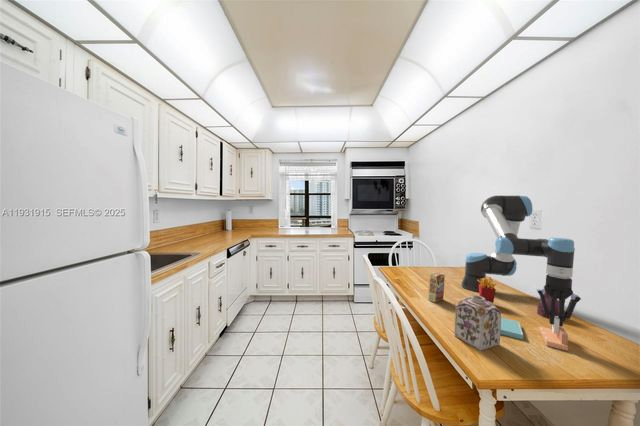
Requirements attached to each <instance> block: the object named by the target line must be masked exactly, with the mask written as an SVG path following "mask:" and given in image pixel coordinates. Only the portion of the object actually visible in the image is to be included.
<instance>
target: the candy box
mask: <svg viewBox="0 0 640 426" xmlns="http://www.w3.org/2000/svg"><path fill="white" fill-rule="evenodd" d="M429 276H430V277H429V289H428V301H430V302H433V303H437V302H440V301H443V300H444V293H445V278H446V277H445V276H446V274H445V273H442V272H436V273H432V274H430V275H429Z"/></svg>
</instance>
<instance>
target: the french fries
mask: <svg viewBox="0 0 640 426" xmlns="http://www.w3.org/2000/svg"><path fill="white" fill-rule="evenodd" d="M480 280H481V281H480ZM480 280H478V279H477V281H478V282H479V283H480V284H479V292H478V293H479V294H478V296H481V297H483V298H485V300H486V301H489V302H491V303H493V304H494V301H495V296H496V288H495V286H496V285H497V283H496V282H494V281H493V279H492V278H491V277H490V276H489V277H488V278H487V277H485V278H482V279H480ZM484 283H485V284H484Z"/></svg>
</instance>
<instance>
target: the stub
mask: <svg viewBox="0 0 640 426" xmlns="http://www.w3.org/2000/svg"><path fill="white" fill-rule="evenodd" d="M538 328H539V330H538V331H539V333H540V334H541V337H542V338H543V341H544V343H545V345H546V347H551V348H554V349H555V348H556V349H558V350H563V351H568V350H569V345H568V340H569V338H568V337H569V335H568V333H567V331H566V330H565V329H564V327H563V326H562V327H561V326H559V335H558V334H554V333H553V332H552V328H549V327H544V326H539V327H538Z"/></svg>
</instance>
